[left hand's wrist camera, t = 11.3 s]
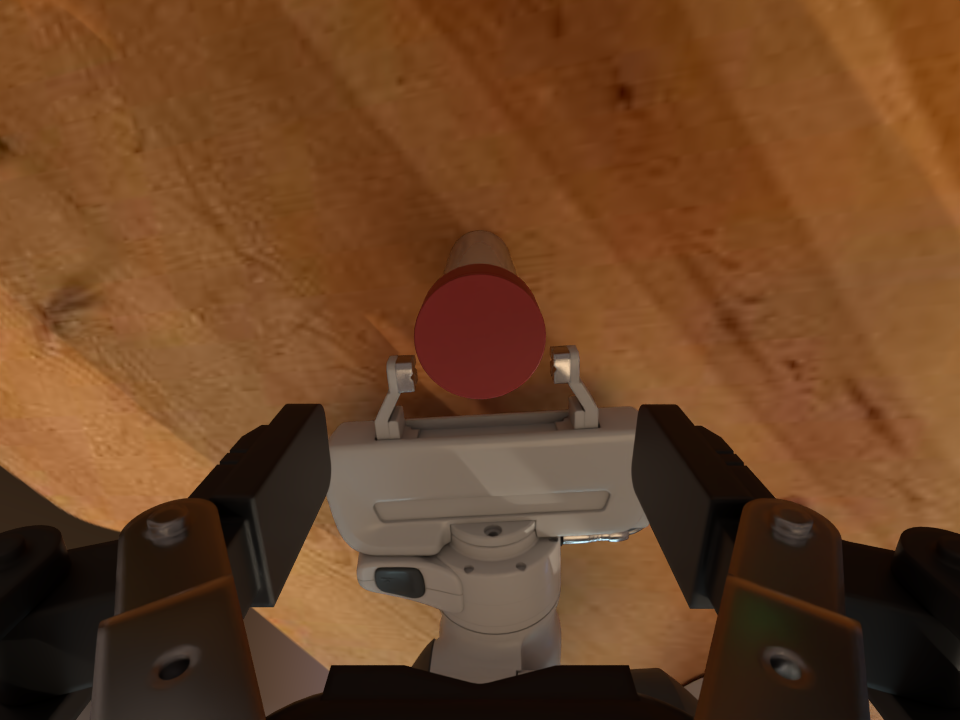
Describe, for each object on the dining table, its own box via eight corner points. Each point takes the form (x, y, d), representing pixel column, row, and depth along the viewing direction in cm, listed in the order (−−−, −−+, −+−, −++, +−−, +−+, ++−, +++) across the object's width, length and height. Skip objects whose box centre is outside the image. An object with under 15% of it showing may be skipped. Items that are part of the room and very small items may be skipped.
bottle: (448, 290, 34) (425, 383, 19) (450, 229, 33) (426, 279, 18) (508, 293, 34) (530, 388, 20) (512, 231, 33) (539, 284, 18)
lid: (420, 375, 21) (413, 396, 19) (420, 260, 19) (413, 271, 17) (534, 380, 21) (539, 402, 19) (544, 265, 20) (551, 277, 18)
